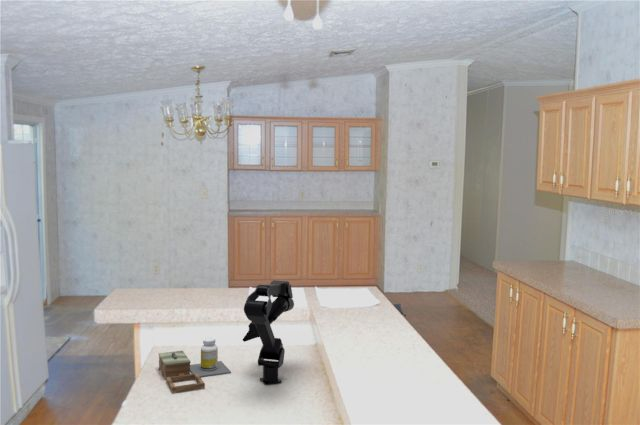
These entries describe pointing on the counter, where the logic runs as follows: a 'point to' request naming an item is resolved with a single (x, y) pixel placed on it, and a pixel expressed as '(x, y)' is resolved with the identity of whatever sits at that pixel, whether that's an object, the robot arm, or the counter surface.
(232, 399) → the counter surface
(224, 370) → the slate mat
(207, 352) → the pill bottle
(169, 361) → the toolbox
